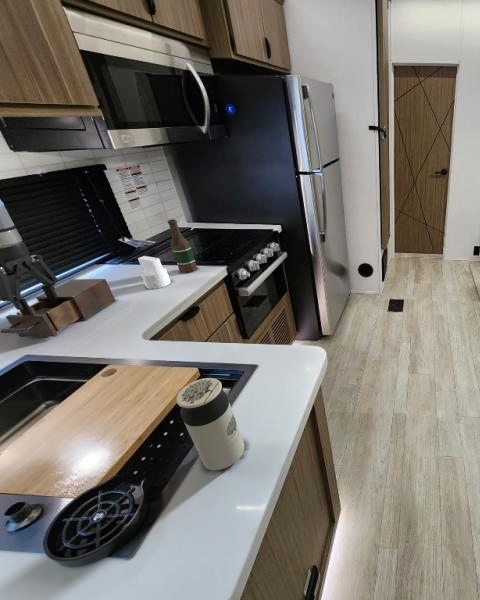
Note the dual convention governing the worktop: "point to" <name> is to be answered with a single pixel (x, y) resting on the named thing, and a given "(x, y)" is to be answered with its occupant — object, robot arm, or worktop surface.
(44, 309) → the dark grey rectangular block
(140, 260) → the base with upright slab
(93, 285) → the cabinet
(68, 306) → the drawer
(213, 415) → the travel mug
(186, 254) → the beer bottle
